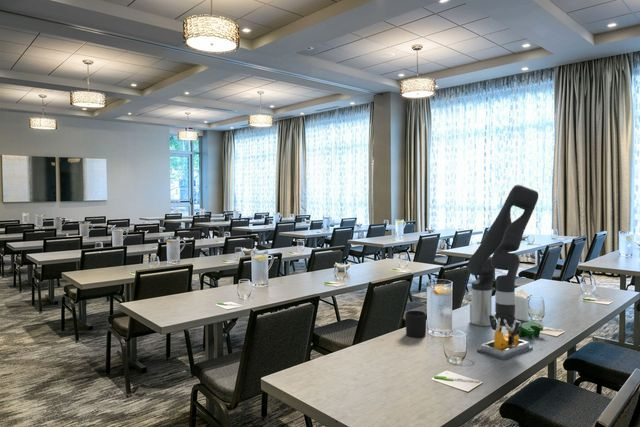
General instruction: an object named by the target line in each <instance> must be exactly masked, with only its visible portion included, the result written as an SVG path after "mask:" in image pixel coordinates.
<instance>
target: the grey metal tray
mask: <svg viewBox="0 0 640 427" xmlns="http://www.w3.org/2000/svg"><path fill="white" fill-rule="evenodd" d="M533 350H534V347H533V346H531V345H530V341H526V340H523V339H521V338H520V339H519V344H516V345H513V346H510V347H507V348H503V349H497V348H494V339H493V340H490V341H487V342H484V343H482V344H480V348H477V350H476V352H478V353H480V354H483V355H486V356H489V357H491V358H495V359H498V360H501V361H506V360H509V359H512V358H513V357H517V356H519V355H522V354H525V353H527V352H530V351H533Z"/></svg>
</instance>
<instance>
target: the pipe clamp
mask: <svg viewBox="0 0 640 427" xmlns="http://www.w3.org/2000/svg"><path fill="white" fill-rule="evenodd" d="M514 328H515V326H514ZM493 333H494V336H493V337H494V338H493V340H494V348H497V349H503V348H507V347H510V346H513V345H516V344H519V338H520V337H519V335H516V336H514V343H513V344H512V345H508V336H509V334H508V333H506V334H504V332H502V331H501V332H499V331H494V332H493Z"/></svg>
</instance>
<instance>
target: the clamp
mask: <svg viewBox="0 0 640 427" xmlns="http://www.w3.org/2000/svg"><path fill="white" fill-rule="evenodd" d="M543 329H544V325H542V324H540V323H538V322H537V321H533V320H530V321H525V322H524V323H523V322H522V325H521V329H520V332H519V338H520V339H521V338H524V337H526V338H528V339H530V340H531V341H532V340H533V339H534V337H537V338H539V337H540V333H541V331H543Z"/></svg>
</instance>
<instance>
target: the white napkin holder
mask: <svg viewBox="0 0 640 427" xmlns="http://www.w3.org/2000/svg"><path fill="white" fill-rule="evenodd" d="M529 315H530V314H529V298H528V297H527V296H524V295H521V294H516V293H515V319H516V320H517V321H522V322H523V321H524V322H529V318H530V317H529Z"/></svg>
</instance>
